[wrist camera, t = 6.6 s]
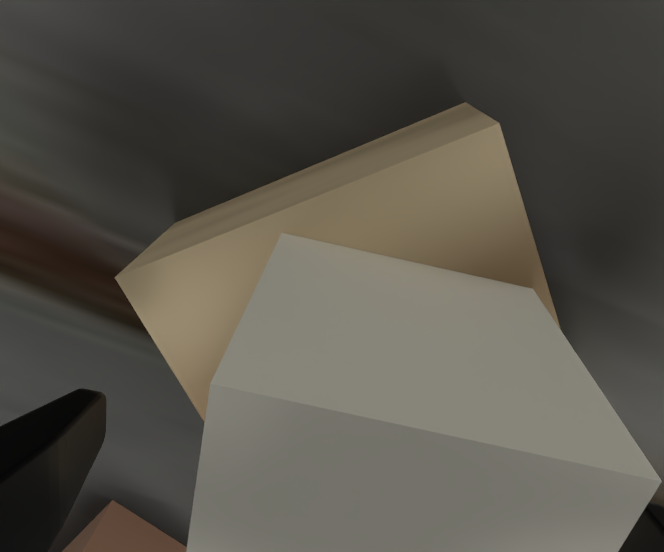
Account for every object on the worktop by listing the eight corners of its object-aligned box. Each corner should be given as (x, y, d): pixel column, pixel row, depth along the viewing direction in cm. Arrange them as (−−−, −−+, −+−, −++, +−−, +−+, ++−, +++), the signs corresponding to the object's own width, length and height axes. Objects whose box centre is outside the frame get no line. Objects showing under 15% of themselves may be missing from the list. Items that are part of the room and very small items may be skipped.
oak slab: (546, 365, 16) (600, 463, 12) (299, 438, 17) (280, 544, 14) (462, 101, 13) (499, 123, 9) (179, 218, 15) (114, 277, 11)
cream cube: (532, 288, 10) (662, 481, 6) (455, 478, 12) (505, 732, 8) (281, 232, 10) (210, 382, 6) (244, 433, 12) (169, 665, 8)
